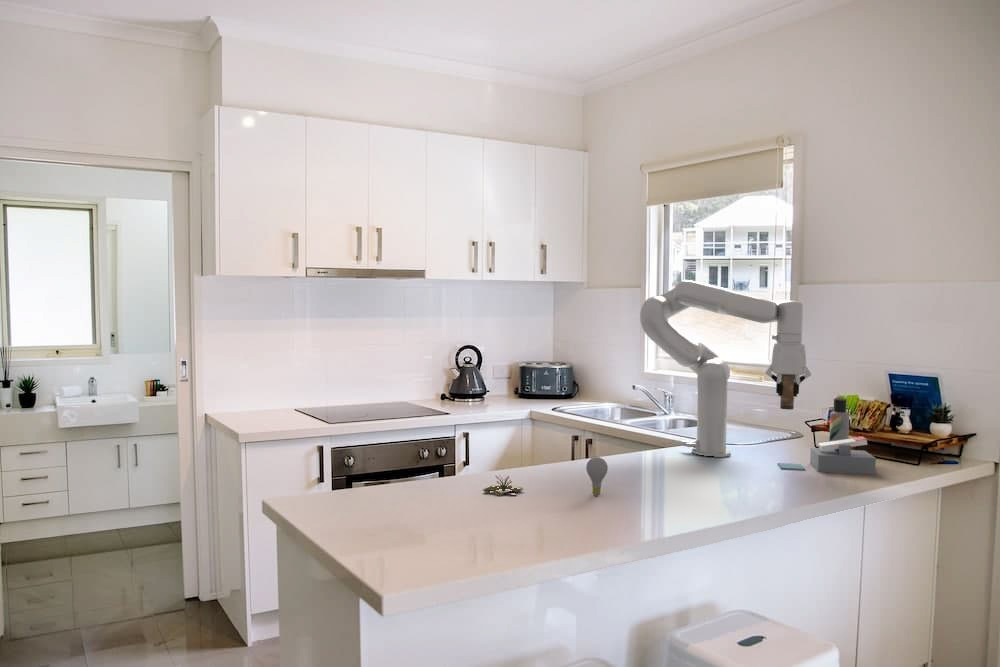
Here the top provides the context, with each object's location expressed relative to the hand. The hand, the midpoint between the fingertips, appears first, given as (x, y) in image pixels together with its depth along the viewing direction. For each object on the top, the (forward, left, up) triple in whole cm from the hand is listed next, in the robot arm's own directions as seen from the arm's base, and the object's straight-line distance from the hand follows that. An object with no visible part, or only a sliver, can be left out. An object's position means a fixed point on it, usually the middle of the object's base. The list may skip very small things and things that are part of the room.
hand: (787, 395), depth 242 cm
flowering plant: (-80, -64, -22) cm, 105 cm away
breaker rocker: (+15, -9, -13) cm, 22 cm away
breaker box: (+15, -9, -21) cm, 27 cm away
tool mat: (0, -11, -21) cm, 24 cm away
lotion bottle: (+18, +9, -21) cm, 29 cm away
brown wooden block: (0, 0, -4) cm, 4 cm away
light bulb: (-56, -62, -21) cm, 86 cm away
